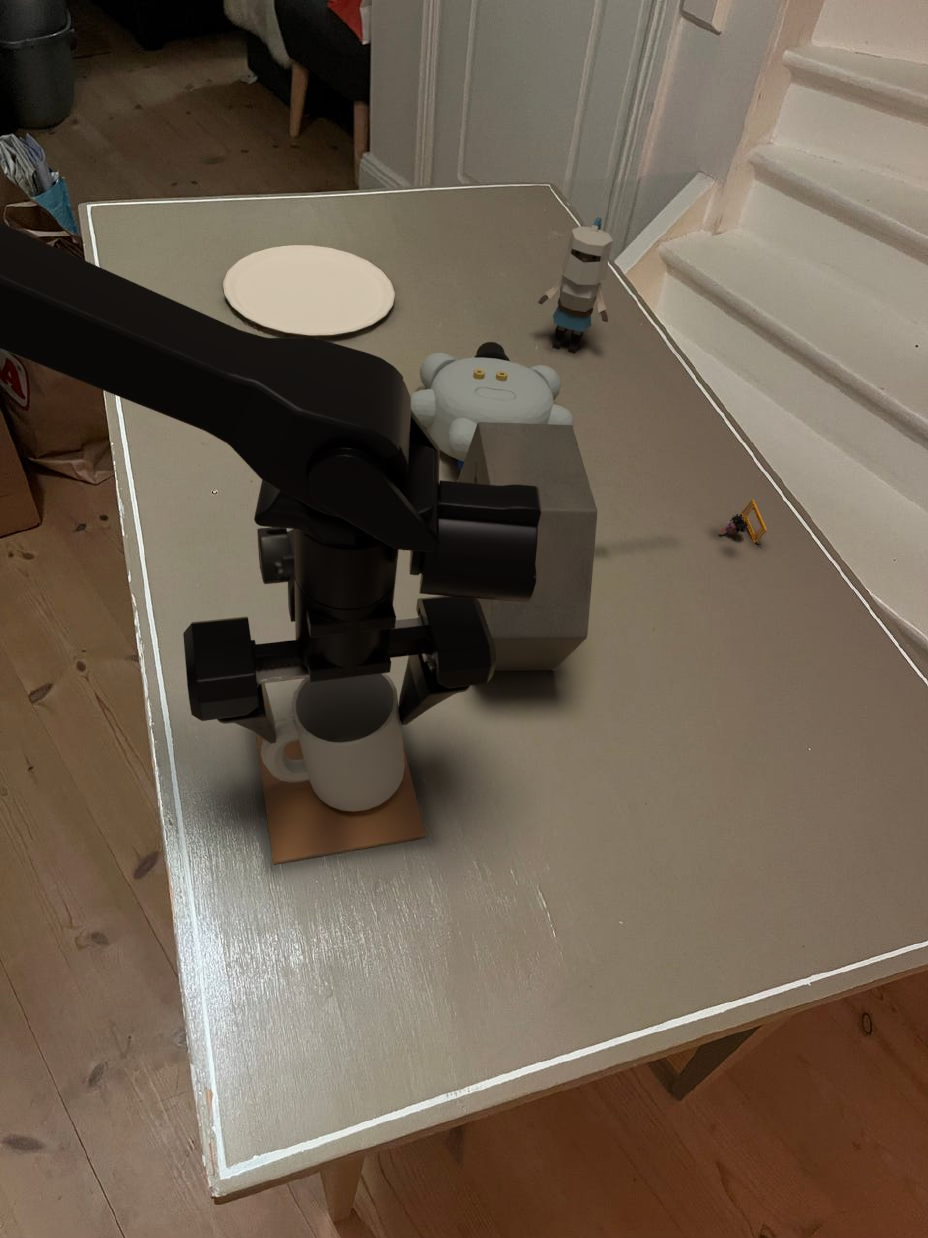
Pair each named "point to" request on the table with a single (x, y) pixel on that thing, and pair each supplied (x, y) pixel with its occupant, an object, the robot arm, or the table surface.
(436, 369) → the figurine
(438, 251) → the table surface
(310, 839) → the coaster
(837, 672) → the table surface
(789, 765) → the table surface
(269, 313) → the plate
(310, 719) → the cup
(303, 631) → the robot arm
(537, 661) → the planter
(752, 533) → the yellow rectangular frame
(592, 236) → the toy
